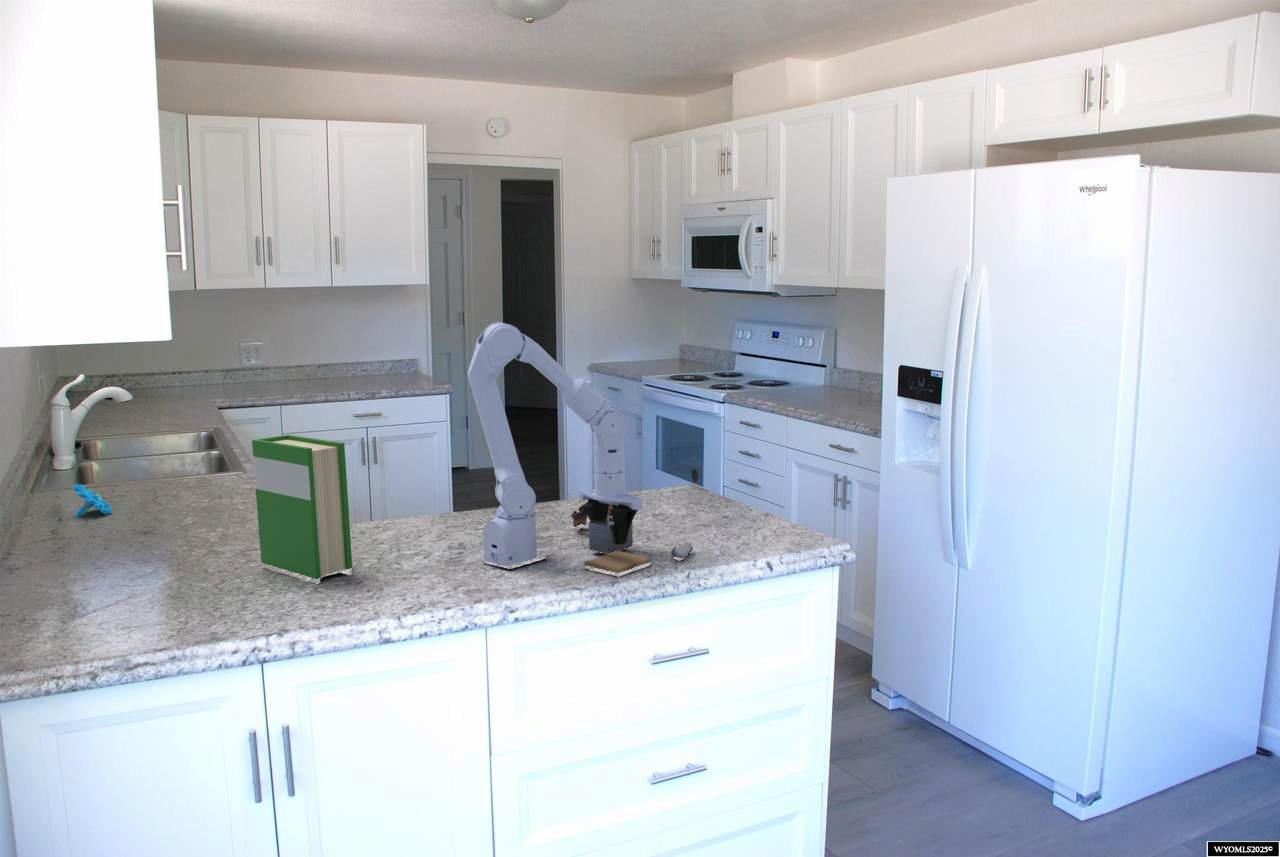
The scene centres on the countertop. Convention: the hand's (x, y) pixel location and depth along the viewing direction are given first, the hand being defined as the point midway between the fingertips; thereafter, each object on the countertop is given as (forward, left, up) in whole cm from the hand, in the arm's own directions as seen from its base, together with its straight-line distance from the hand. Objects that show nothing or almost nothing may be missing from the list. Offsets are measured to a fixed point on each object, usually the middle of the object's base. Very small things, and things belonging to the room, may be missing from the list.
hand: (611, 541), depth 192 cm
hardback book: (-43, +36, -2) cm, 56 cm away
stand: (-7, -8, -2) cm, 11 cm away
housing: (0, 0, -1) cm, 1 cm away
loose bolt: (+6, -13, -2) cm, 15 cm away
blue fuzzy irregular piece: (-48, +118, -3) cm, 128 cm away
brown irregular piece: (+11, +13, -3) cm, 17 cm away
